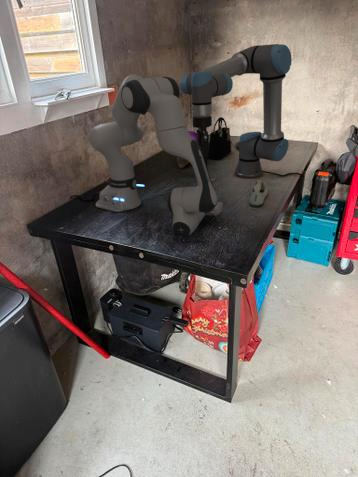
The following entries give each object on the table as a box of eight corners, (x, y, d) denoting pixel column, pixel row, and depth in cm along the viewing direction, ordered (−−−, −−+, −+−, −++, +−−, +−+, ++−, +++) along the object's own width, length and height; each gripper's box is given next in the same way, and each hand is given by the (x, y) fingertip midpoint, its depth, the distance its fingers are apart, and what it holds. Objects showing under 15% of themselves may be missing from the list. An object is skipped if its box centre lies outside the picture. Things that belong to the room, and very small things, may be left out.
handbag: (219, 160, 214) (219, 120, 202) (206, 159, 218) (206, 119, 206) (232, 152, 229) (233, 114, 216) (220, 151, 233) (220, 114, 221)
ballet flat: (269, 188, 169) (270, 173, 165) (265, 208, 149) (266, 191, 145) (252, 187, 171) (253, 172, 167) (246, 206, 151) (247, 190, 147)
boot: (194, 157, 223) (193, 127, 213) (188, 169, 203) (187, 135, 193) (182, 157, 225) (180, 127, 215) (174, 168, 205) (172, 136, 194)
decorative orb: (204, 151, 235) (204, 129, 228) (194, 156, 225) (193, 134, 217) (186, 149, 243) (186, 128, 235) (175, 154, 232) (174, 132, 224)
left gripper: (219, 207, 130) (227, 194, 141) (171, 202, 137) (182, 190, 148) (218, 221, 133) (226, 207, 144) (172, 216, 140) (183, 203, 151)
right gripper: (189, 113, 135) (191, 168, 146) (196, 120, 120) (197, 181, 132) (207, 111, 135) (207, 167, 147) (216, 118, 121) (216, 179, 132)
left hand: (203, 198), depth 146 cm, fingers closed on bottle, 5 cm apart
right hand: (203, 173), depth 139 cm, fingers closed on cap, 4 cm apart
